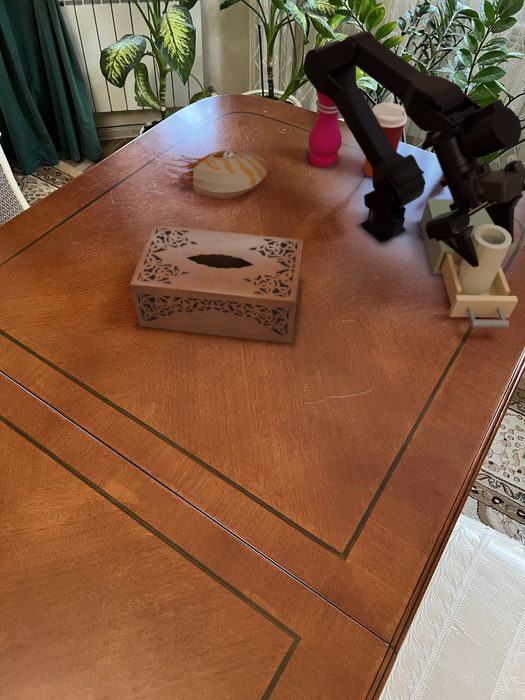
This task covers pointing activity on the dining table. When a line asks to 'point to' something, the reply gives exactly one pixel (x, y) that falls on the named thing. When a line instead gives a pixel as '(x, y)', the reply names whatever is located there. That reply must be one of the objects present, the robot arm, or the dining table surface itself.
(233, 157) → the nautilus
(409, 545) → the dining table surface
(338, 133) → the pepper mill
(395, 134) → the paper cup
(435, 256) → the cabinet
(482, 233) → the jar
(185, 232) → the tissue box cover
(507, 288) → the drawer
